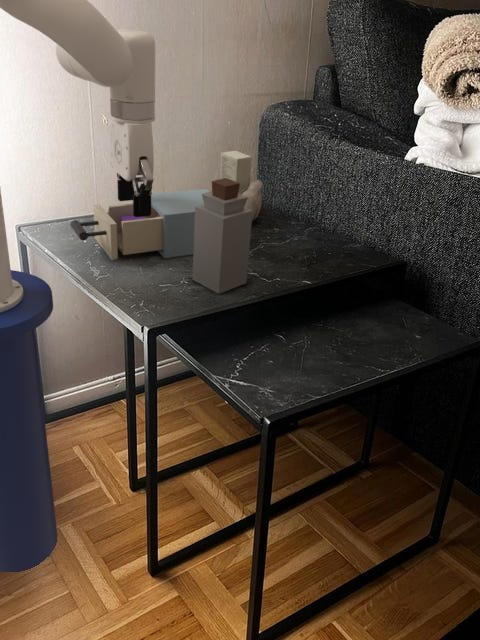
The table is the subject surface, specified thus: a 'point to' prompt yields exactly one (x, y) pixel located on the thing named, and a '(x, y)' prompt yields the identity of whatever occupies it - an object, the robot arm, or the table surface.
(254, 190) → the decorative bird
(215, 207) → the perfume bottle
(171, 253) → the drawer cabinet
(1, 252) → the robot arm
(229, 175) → the cosmetic box
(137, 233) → the beige drawer
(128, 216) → the purple rounded cube
